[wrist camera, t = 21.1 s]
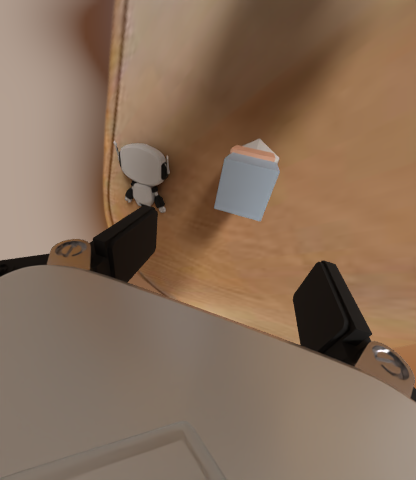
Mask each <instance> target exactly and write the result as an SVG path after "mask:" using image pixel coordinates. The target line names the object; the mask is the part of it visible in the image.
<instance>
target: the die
mask: <svg viewBox="0 0 416 480" xmlns="http://www.w3.org/2000/svg"><path fill="white" fill-rule="evenodd" d="M244 147H248V148H253V149H257V150H262V151H266V152H271V153H274V152H273V151H272V150H271V149H270V148H269V147H268V146H267V145H266V144H265V143H264V142H263V141H262V140H261V139H260V138H259V139H257V140H255V141H253V142H250V143H248V144H246V145H244ZM274 155H275V158H276V159H275V161H274V162H276V163H277V164H278V161H279V157H278V156H277V155H276V154H275V153H274Z"/></svg>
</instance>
